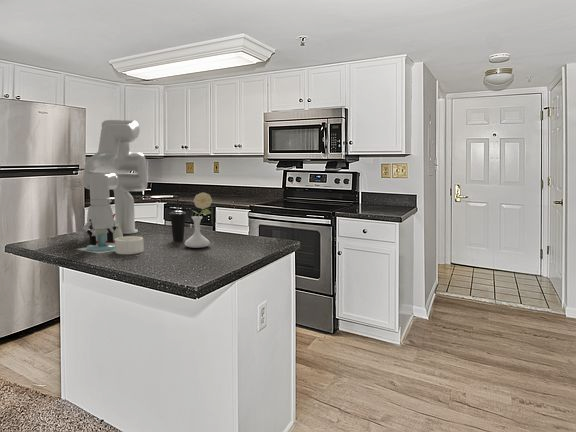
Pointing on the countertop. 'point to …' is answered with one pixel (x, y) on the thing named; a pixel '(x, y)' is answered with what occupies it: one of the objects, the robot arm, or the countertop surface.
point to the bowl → (129, 245)
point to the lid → (101, 244)
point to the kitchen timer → (116, 233)
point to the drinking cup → (178, 224)
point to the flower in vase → (197, 238)
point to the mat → (94, 251)
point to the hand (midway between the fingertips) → (101, 243)
